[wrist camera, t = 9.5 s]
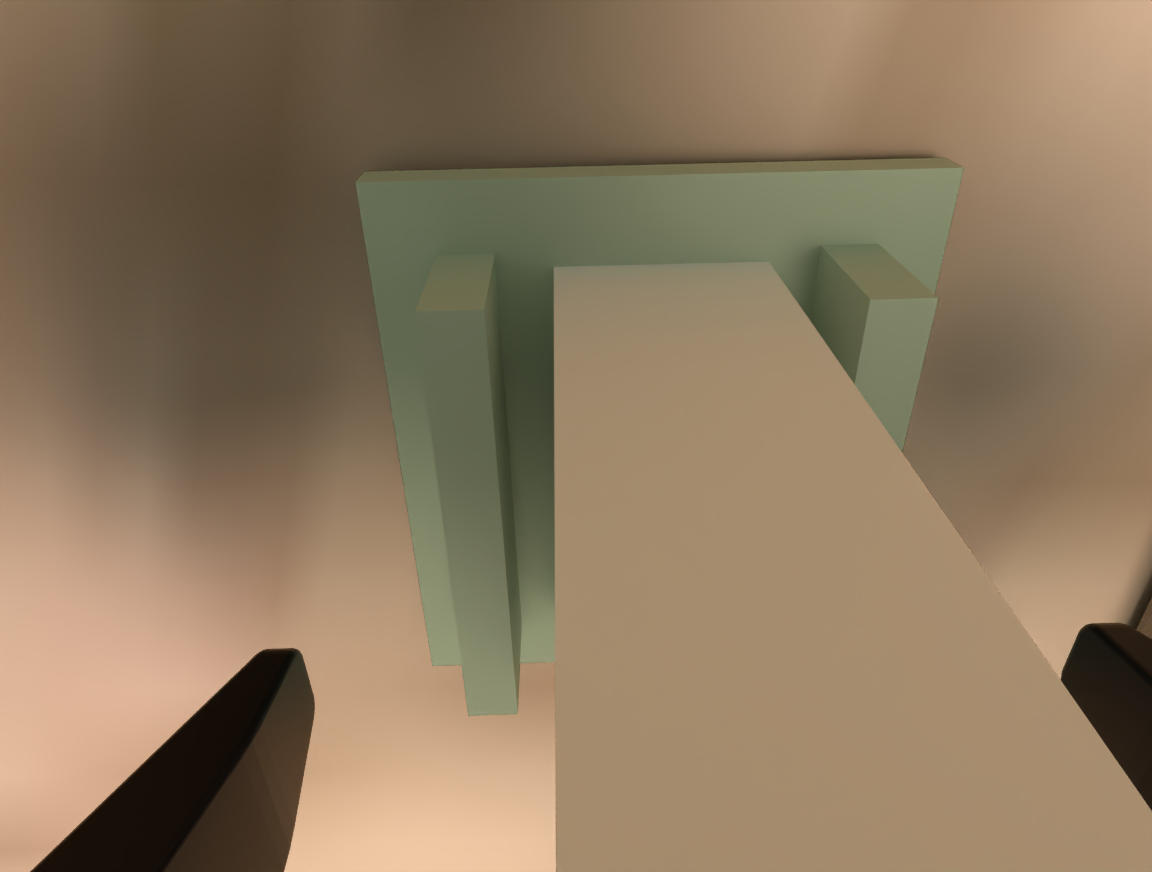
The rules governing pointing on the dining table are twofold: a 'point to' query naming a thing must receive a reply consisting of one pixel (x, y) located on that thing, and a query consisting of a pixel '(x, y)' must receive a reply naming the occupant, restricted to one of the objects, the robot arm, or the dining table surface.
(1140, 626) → the frame
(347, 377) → the dining table surface
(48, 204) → the dining table surface
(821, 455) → the long rectangular block
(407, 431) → the holder
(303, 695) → the robot arm
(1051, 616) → the dining table surface
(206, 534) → the dining table surface
